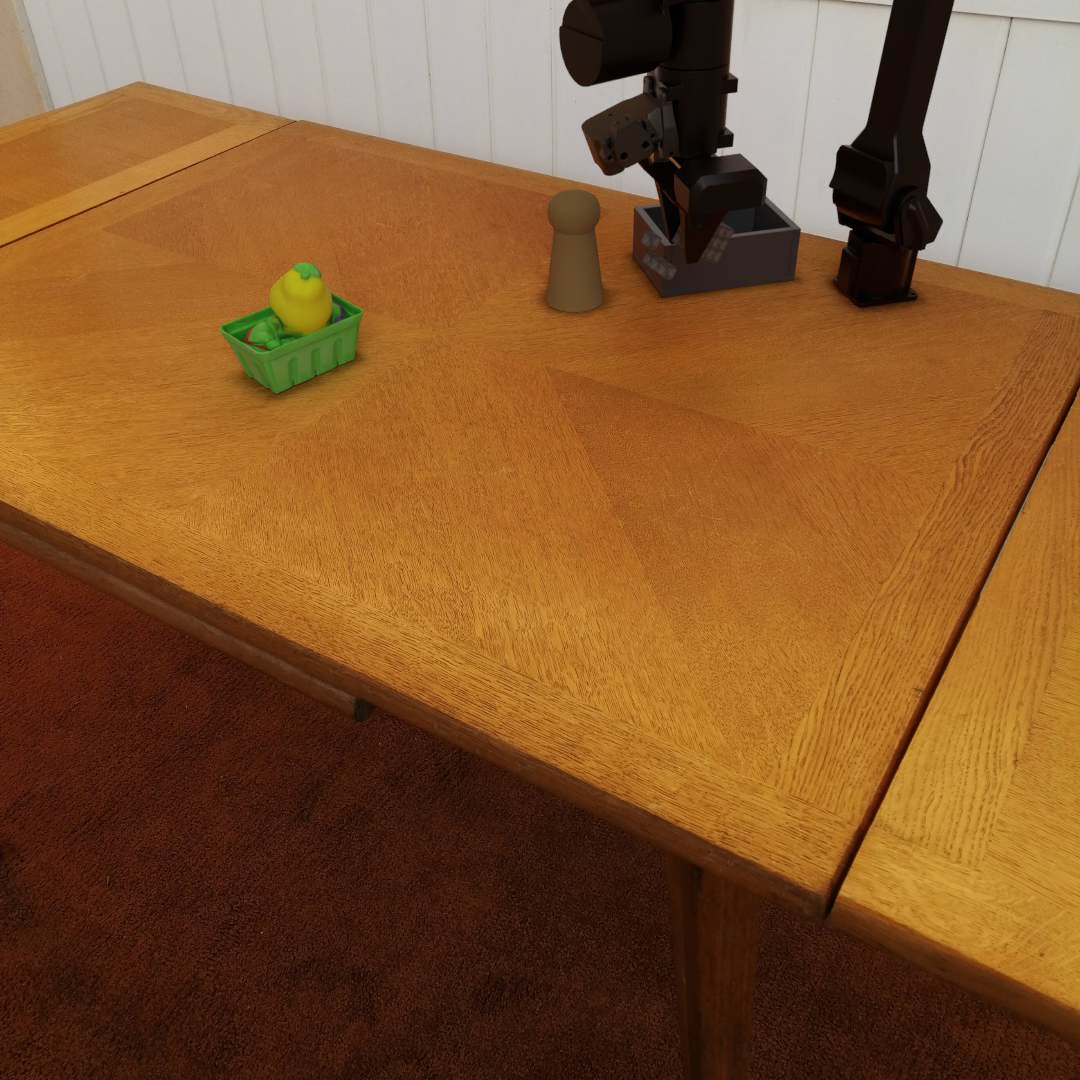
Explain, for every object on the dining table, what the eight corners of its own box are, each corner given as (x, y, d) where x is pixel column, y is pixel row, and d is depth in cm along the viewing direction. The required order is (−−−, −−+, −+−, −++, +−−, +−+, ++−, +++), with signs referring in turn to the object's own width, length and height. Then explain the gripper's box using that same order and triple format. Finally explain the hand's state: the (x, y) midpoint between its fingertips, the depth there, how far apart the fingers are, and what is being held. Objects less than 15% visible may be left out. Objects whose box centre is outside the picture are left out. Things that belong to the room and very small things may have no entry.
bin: (755, 240, 113) (761, 191, 110) (794, 279, 105) (801, 228, 102) (632, 255, 111) (633, 206, 108) (662, 297, 103) (664, 245, 100)
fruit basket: (327, 332, 100) (307, 222, 92) (382, 363, 95) (365, 249, 88) (228, 376, 94) (197, 262, 87) (280, 411, 89) (253, 293, 82)
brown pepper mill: (599, 314, 101) (599, 207, 94) (540, 310, 102) (536, 204, 95) (608, 287, 105) (609, 183, 98) (551, 283, 107) (549, 181, 99)
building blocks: (735, 230, 86) (675, 211, 81) (704, 288, 89) (645, 273, 83) (711, 214, 88) (651, 195, 83) (681, 271, 91) (622, 256, 85)
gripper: (560, 41, 82) (566, 224, 93) (627, 110, 68) (625, 316, 79) (688, 26, 84) (680, 207, 94) (780, 90, 70) (758, 295, 80)
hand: (683, 252), depth 87 cm, fingers closed on building blocks, 4 cm apart
